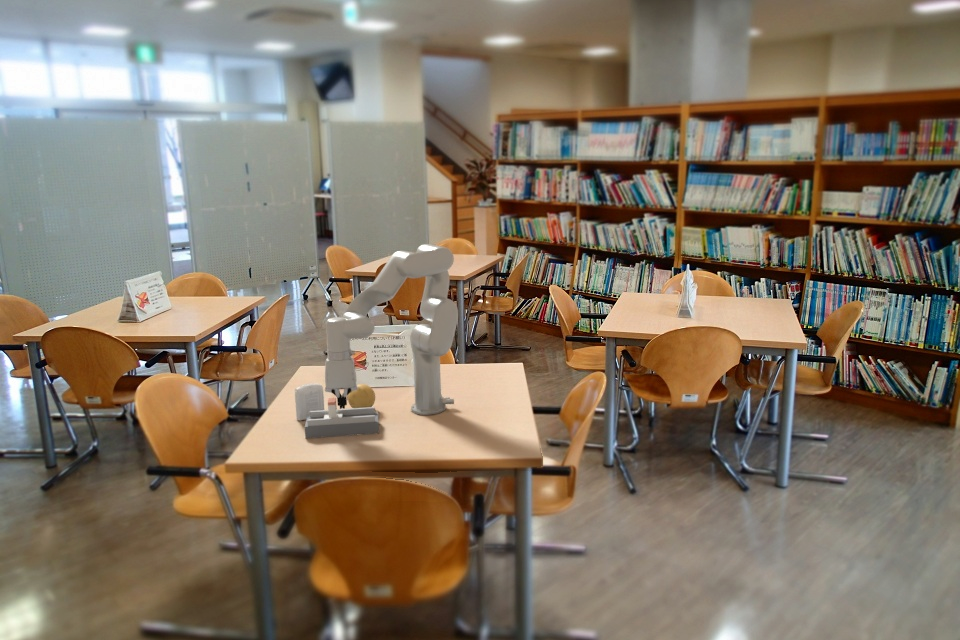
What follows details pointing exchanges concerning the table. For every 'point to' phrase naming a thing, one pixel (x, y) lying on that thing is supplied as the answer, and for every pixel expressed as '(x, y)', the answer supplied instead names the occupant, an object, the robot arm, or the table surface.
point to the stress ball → (361, 397)
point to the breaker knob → (332, 409)
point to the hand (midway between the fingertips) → (342, 407)
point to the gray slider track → (342, 423)
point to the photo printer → (308, 399)
